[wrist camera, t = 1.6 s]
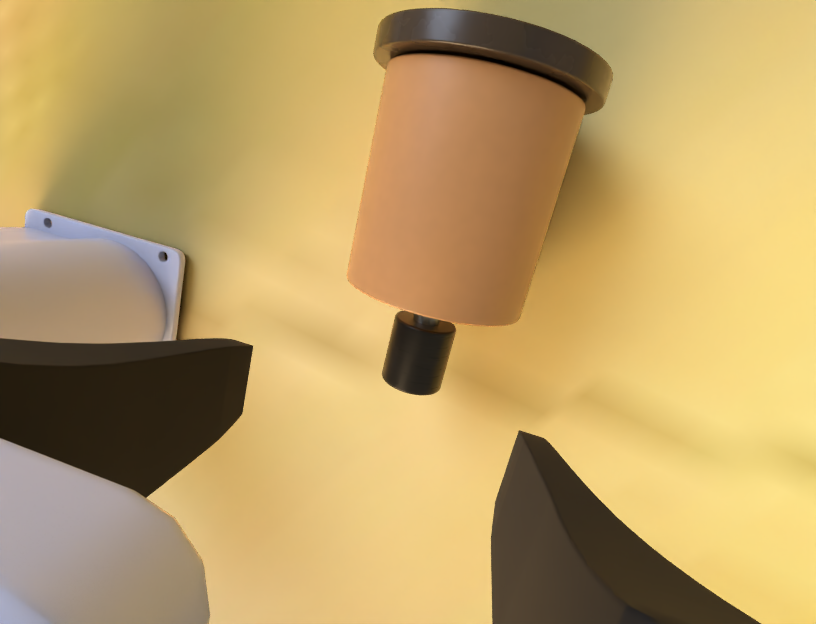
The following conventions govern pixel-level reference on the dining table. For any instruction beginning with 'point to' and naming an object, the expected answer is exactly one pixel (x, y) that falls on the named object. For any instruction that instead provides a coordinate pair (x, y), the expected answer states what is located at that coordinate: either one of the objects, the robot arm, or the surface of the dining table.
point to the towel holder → (464, 174)
